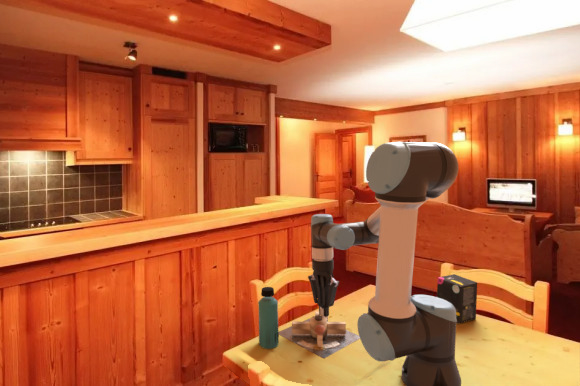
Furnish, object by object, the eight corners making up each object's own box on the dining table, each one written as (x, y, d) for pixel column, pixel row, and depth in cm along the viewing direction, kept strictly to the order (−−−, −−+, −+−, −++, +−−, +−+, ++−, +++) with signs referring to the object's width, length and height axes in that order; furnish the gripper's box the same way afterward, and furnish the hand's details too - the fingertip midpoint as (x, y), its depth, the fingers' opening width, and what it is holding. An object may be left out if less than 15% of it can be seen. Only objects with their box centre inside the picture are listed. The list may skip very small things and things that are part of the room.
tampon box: (435, 313, 143) (436, 276, 142) (452, 309, 147) (453, 273, 146) (458, 324, 133) (460, 285, 132) (476, 319, 137) (478, 281, 136)
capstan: (342, 322, 132) (342, 303, 132) (349, 349, 114) (349, 327, 113) (292, 322, 133) (292, 303, 132) (291, 348, 114) (291, 327, 114)
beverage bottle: (276, 354, 114) (275, 292, 112) (256, 352, 116) (254, 291, 114) (281, 344, 121) (280, 285, 119) (261, 342, 122) (260, 284, 120)
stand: (362, 341, 122) (362, 336, 122) (323, 363, 109) (323, 357, 109) (314, 320, 138) (314, 315, 138) (276, 337, 125) (276, 332, 125)
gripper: (343, 259, 125) (345, 326, 127) (316, 253, 135) (318, 316, 136) (329, 263, 120) (330, 333, 122) (302, 257, 130) (304, 322, 131)
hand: (324, 324), depth 129 cm, fingers closed
